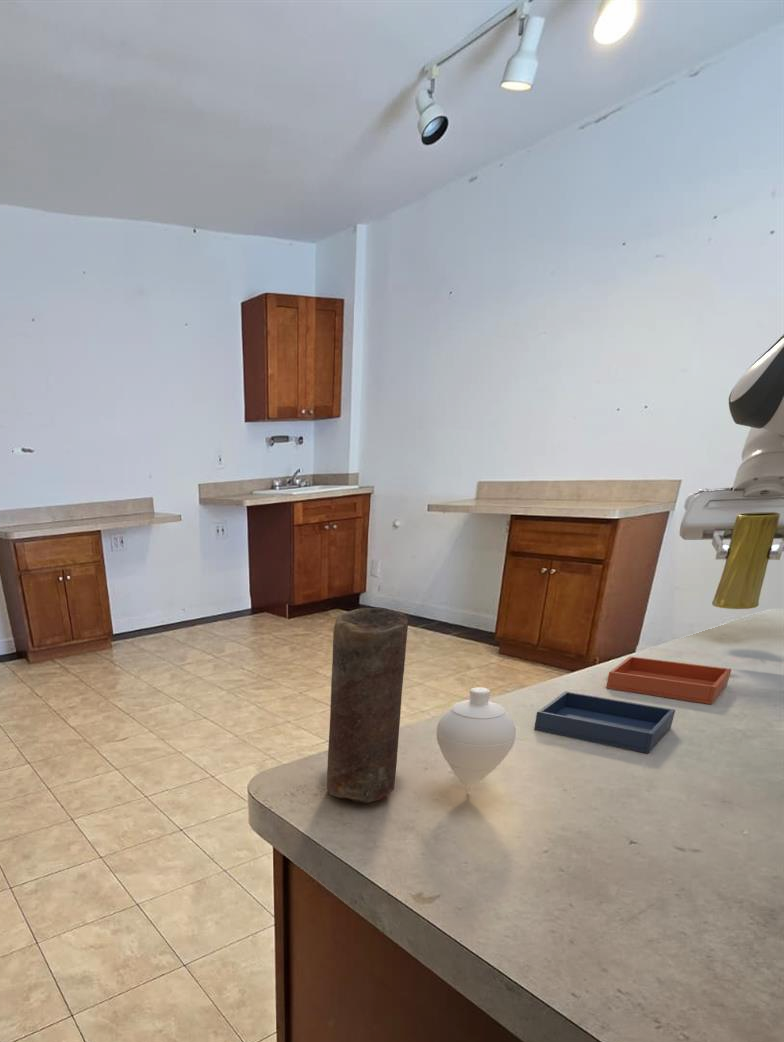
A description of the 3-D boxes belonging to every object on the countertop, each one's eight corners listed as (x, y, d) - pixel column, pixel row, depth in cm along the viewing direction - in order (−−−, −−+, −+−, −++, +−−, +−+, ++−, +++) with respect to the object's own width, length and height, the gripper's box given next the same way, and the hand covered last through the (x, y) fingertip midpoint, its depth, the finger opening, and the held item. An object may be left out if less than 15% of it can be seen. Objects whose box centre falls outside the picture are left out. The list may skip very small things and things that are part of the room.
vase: (718, 600, 110) (740, 512, 104) (763, 603, 105) (788, 511, 99) (706, 607, 106) (728, 516, 100) (752, 610, 102) (778, 515, 96)
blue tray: (670, 728, 81) (675, 709, 80) (648, 753, 75) (653, 734, 74) (562, 708, 90) (565, 691, 89) (533, 729, 84) (536, 711, 83)
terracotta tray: (726, 685, 93) (731, 668, 92) (711, 704, 87) (716, 687, 86) (626, 671, 102) (629, 656, 101) (605, 688, 96) (609, 672, 95)
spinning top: (438, 774, 74) (447, 675, 69) (509, 784, 71) (525, 681, 65) (424, 803, 68) (433, 697, 63) (502, 816, 65) (518, 705, 59)
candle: (405, 787, 72) (418, 609, 63) (382, 816, 66) (392, 625, 58) (342, 774, 76) (346, 605, 67) (315, 800, 70) (316, 620, 62)
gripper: (690, 477, 108) (670, 545, 106) (856, 467, 96) (838, 544, 94) (687, 503, 113) (668, 568, 111) (844, 497, 101) (827, 570, 99)
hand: (747, 557), depth 102 cm, fingers closed on vase, 5 cm apart
